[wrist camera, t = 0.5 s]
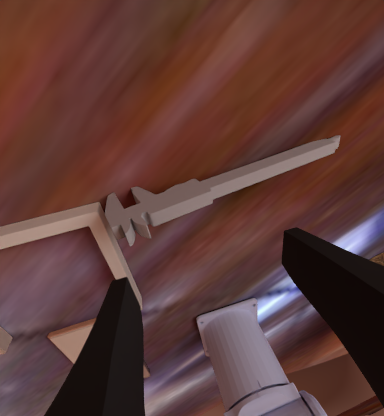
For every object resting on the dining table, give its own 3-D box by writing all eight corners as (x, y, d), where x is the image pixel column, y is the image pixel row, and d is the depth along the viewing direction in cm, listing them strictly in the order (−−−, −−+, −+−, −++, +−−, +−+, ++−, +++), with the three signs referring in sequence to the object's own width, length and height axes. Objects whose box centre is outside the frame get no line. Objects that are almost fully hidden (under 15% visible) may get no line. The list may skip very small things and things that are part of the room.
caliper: (112, 203, 18) (106, 255, 13) (107, 191, 18) (99, 240, 12) (334, 145, 21) (404, 169, 15) (336, 133, 20) (410, 153, 15)
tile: (125, 338, 28) (125, 348, 27) (75, 355, 27) (73, 365, 26) (107, 310, 24) (106, 320, 23) (50, 327, 24) (46, 339, 23)
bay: (141, 297, 24) (142, 309, 23) (2, 340, 22) (-6, 356, 21) (99, 201, 18) (97, 211, 16) (-101, 252, 16) (-120, 267, 15)
